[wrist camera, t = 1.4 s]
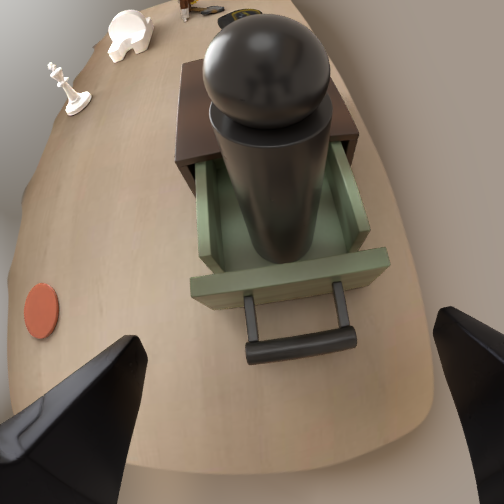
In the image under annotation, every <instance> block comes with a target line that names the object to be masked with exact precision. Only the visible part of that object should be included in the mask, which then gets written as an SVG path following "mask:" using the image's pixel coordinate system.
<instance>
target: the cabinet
mask: <svg viewBox="0 0 504 504" xmlns="http://www.w3.org/2000/svg"><path fill="white" fill-rule="evenodd" d="M203 61H204V59H199V60H195V61H191V62H188V63H184V64H182V70H181V80H180V90H179V101H178V113H177V128H176V145H175V163H176V165H177V167H178V168H179V170H180V172H181V174H182V175H183V177H184V179H185V181H186V182H187V184H188V186H189V187H190V189H191V191H192V193H193V194H194V196H195V198H196V176H195V163H199V162H203V161H208V160H213V159H218V158H223V157H222V154H221V151H220V148H219V145H218V142H217V139H216V136H215V133H214V130H213V128H212V125H211V122H210V118H209V109H210V105H211V102H212V100H211V99H210V97H209V95H208V93H207V91H206V88H205V85H204V81H203V69H202V68H203ZM327 93H328V94H329V96H330V98H331V101H332V105H333V114H332V122H331V130H330V137H329V142H333V141H341V144H342V147H343V149H344V152H345V154H346V157H347V160H348V162H349V165H350V167H351V163H352V159H353V156H354V152H355V148H356V144H357V139H358V136H359V132H358V130H357V128H356V125H355V123H354V121H353V119H352V117H351V115H350V113H349V111H348V109H347V107H346V105H345V103H344V101H343V99H342V97H341V95H340V93H339V92H338V90H337V88H336V86H335V84H334V82H333V81H332V79H331V77H330V82H329V86H328V89H327Z"/></svg>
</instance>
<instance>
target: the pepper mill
mask: <svg viewBox="0 0 504 504" xmlns="http://www.w3.org/2000/svg"><path fill="white" fill-rule="evenodd" d="M202 69H203V81H204V85H205V88H206V91H207V93H208V95H209V97H210V99H211V100H212V102H211V105H210V109H209V118H210V122H211V125H212V128H213V130H214V133H215V136H216V139H217V142H218V145H219V148H220V151H221V154H222V157H223V160H224V162H225V165H226V168H227V171H228V174H229V177H230V180H231V183H232V186H233V189H234V192H235V195H236V198H237V200H238V203H239V206H240V209H241V212H242V215H243V218H244V221H245V224H246V227H247V230H248V233H249V236H250V239H251V242H252V244H253V247H254V249H255V250H256V252H257V253H258V254H259V255H260V256H261V257H262V258H264V259H265V260H267V261H269V262H272V263H277V264H284V263H291V262H295V261H297V260H299V259H300V258H302V257H303V256H304V255H305V254H306V253H307V252H308V250H309V249H310V247H311V245H312V242H313V236H314V231H315V226H316V220H317V215H318V209H319V203H320V197H321V191H322V185H323V179H324V172H325V166H326V159H327V152H328V145H329V137H330V130H331V122H332V114H333V105H332V101H331V98H330V96H329V94H328V93H327V89H328V86H329V82H330V64H329V59H328V56H327V53H326V51H325V48H324V47H323V45H322V43H321V42H320V40H319V39H318V38H317V37H316V35H315V34H314V33H313V32H312V31H310V30H309V29H308V28H307V27H306V26H304V25H302V24H301V23H299V22H297V21H295V20H293V19H290V18H288V17H285V16H280V15H275V14H256V15H250V16H246V17H243V18H241V19H238V20H236V21H234V22H232V23H230V24H229V25H227V26H226V27H224V28H223V29H222V30H221V31H220V32H219V33H218V34H217V35H216V36H215V37H214V39H213V40H212V41H211V43H210V45H209V47H208V49H207V51H206V53H205V57H204V61H203V68H202Z"/></svg>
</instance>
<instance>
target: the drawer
mask: <svg viewBox="0 0 504 504" xmlns="http://www.w3.org/2000/svg"><path fill="white" fill-rule="evenodd" d="M195 176H196V210H197V233H198V252H199V258H200V259H201V260H202V261H203V262H204V263H205V264H206V265H207V266H208V268H209V269H210V270H211V271H212V272H213V273H214V274H212V275H205V276H199V277H192V278H190V290H191V297H192V298H193V299H195V300H197V301H198V302H200V303H202V304H204V305H205V306H207V307H209V308H211V309H212V310H221V309H229V308H236V307H244V308H245V316H246V325H247V333H248V341H249V342H248V343H246V345H245V352H246V359H247V363H248V365H256V364H265V363H272V362H280V361H287V360H293V359H300V358H306V357H312V356H317V355H323V354H328V353H333V352H338V351H343V350H348V349H353V348H356V346H357V336H356V332H355V329H354V327H353V326H350V323H349V317H348V312H347V306H346V301H345V295H344V290H349V289H354V288H359V287H364V286H368V285H370V284H371V283H372V282H373V281H374V280H375V279H376V278H377V277H378V276H380V275H381V274H382V273H383V272H384V271H385V270H386V269H387V268H388V267H389V266H390V261H389V257H388V253H387V250H386V247H381V248H375V249H369V250H364V251H358V250H359V248H360V247H361V245H362V243H363V242H364V240H365V238H366V237H367V235H368V234H369V232H370V230H371V229H370V226H369V222H368V219H367V216H366V212H365V209H364V206H363V203H362V200H361V197H360V194H359V191H358V188H357V185H356V182H355V179H354V176H353V173H352V171H351V168H350V165H349V162H348V160H347V157H346V154H345V152H344V149H343V147H342V144H341V141H333V142H329V145H328V152H327V159H326V166H325V172H324V179H323V185H322V191H321V197H320V203H319V209H318V215H317V220H316V226H315V231H314V236H313V242H312V245H311V247H310V249H309V250H308V252H307V253H306V254H305V255H304V256H303V257H302V258H300V259H299V260H297V261H295V262H291V263H284V264H277V263H272V262H269V261H267V260H265V259H264V258H262V257H261V256H260V255H259V254H258V253H257V252H256V250H255V249H254V247H253V244H252V242H251V239H250V236H249V233H248V230H247V227H246V224H245V221H244V218H243V215H242V212H241V209H240V206H239V203H238V200H237V198H236V195H235V192H234V189H233V186H232V183H231V180H230V177H229V174H228V171H227V168H226V165H225V162H224V160H223V158H218V159H213V160H208V161H203V162H199V163H195ZM357 251H358V252H357ZM327 293H333V296H334V301H335V307H336V313H337V319H338V324H339V328H337V329H332V330H327V331H321V332H316V333H310V334H304V335H298V336H291V337H285V338H278V339H271V340H264V341H259V334H258V326H257V318H256V310H255V305H258V304H265V303H272V302H278V301H285V300H291V299H297V298H304V297H310V296H315V295H321V294H327Z"/></svg>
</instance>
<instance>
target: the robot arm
mask: <svg viewBox="0 0 504 504" xmlns="http://www.w3.org/2000/svg"><path fill="white" fill-rule="evenodd" d="M433 337H434V341H435V344H436V347H437V350H438V354H439V357H440V360H441V364H442V368H443V371H444V375H445V378H446V381H447V383H448V386H449V389H450V391H451V394H452V397H453V400H454V403H455V406H456V409H457V412H458V415H459V418H460V421H461V424H462V427H463V431H464V434H465V438H466V441H467V445H468V448H469V453H470V457H471V461H472V465H473V469H474V474H475V478H476V484H477V490H478V496H479V501H480V504H504V334H502V333H500V332H498V331H496V330H494V329H493V328H491V327H489V326H487V325H486V324H484V323H482V322H480V321H478V320H476V319H475V318H473V317H471V316H469V315H467V314H465V313H464V312H462V311H460V310H458V309H456V308H454V307H452V306H449V307H444V308H441V309H440V310H439V311H438V315H437V318H436V322H435V325H434V329H433ZM147 363H148V357H147V354H146V351H145V349H144V347H143V345H142V343H141V341H140V339H139V337H138V336H136V335H124V336H123V337H122V338H120V339H119V340H117V341H116V342H115V343H113V344H112V345H111V346H109V347H108V348H107V349H105V350H104V351H102V352H101V353H100V354H98V355H97V356H96V357H94V358H93V359H92V360H90V361H89V362H88V363H86V364H85V365H83V366H82V367H81V368H79V369H78V370H77V371H75V372H74V373H73V374H71V375H70V376H69V377H67V378H66V379H65V380H63V381H62V382H60V383H59V384H58V385H56V386H55V387H54V388H52V389H51V390H50V391H48V392H47V393H46V394H44V396H42V397H40V398H39V399H38V400H36V401H35V402H34V403H32V404H31V405H29V406H28V407H27V408H25V409H24V410H22V411H21V412H19V413H18V414H16V415H15V416H13V417H12V418H10V419H8V420H7V421H5V422H3V423H2V424H0V504H117V500H118V495H119V491H120V486H121V481H122V476H123V472H124V467H125V463H126V459H127V454H128V450H129V446H130V442H131V438H132V434H133V430H134V426H135V422H136V418H137V415H138V411H139V407H140V403H141V398H142V392H143V386H144V380H145V374H146V368H147Z"/></svg>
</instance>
